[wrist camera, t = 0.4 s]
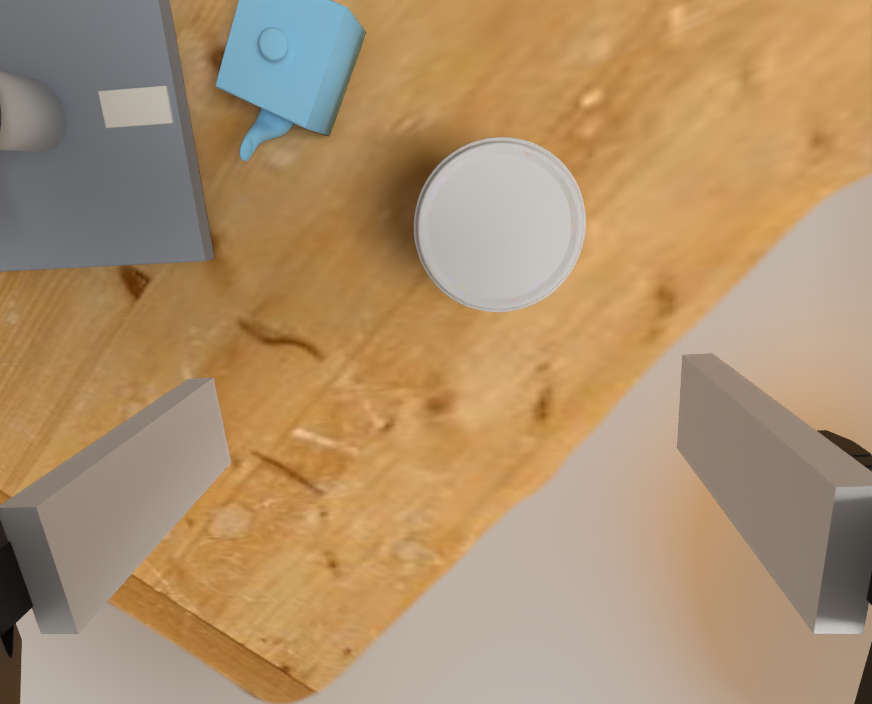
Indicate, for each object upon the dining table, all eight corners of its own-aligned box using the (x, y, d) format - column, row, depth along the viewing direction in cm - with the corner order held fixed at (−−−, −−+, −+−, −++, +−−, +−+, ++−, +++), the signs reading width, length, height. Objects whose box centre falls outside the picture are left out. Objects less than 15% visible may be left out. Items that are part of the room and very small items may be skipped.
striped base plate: (-137, -38, 39) (-300, -97, 31) (157, -71, 37) (65, -142, 29) (-41, 271, 45) (-155, 290, 37) (214, 258, 43) (152, 275, 35)
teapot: (317, 181, 41) (282, 180, 34) (241, 146, 41) (190, 138, 33) (377, 13, 37) (352, -28, 30) (294, -27, 37) (250, -78, 30)
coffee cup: (427, 274, 42) (407, 308, 31) (435, 145, 39) (416, 129, 28) (549, 284, 42) (575, 322, 30) (566, 154, 39) (601, 141, 27)
